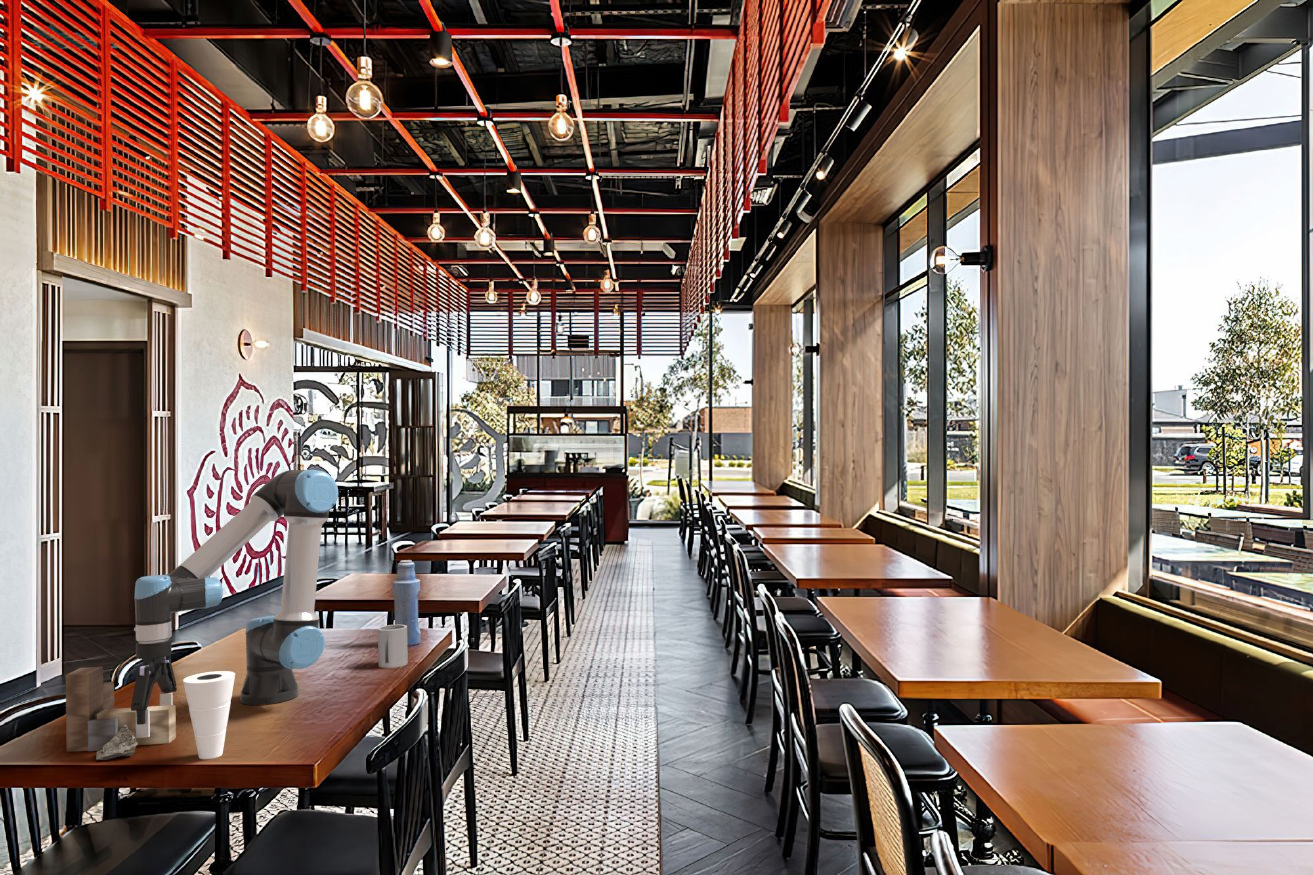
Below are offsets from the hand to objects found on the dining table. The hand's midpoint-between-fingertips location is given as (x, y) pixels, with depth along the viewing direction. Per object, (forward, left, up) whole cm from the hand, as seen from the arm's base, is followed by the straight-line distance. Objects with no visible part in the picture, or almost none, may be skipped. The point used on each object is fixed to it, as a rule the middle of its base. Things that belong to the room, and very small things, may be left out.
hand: (155, 728), depth 211 cm
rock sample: (+5, +9, -4) cm, 11 cm away
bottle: (-47, -97, -3) cm, 107 cm away
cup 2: (-17, +14, -3) cm, 22 cm away
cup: (-46, -66, -3) cm, 81 cm away
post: (+13, -4, -3) cm, 14 cm away
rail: (+4, 0, -3) cm, 5 cm away
